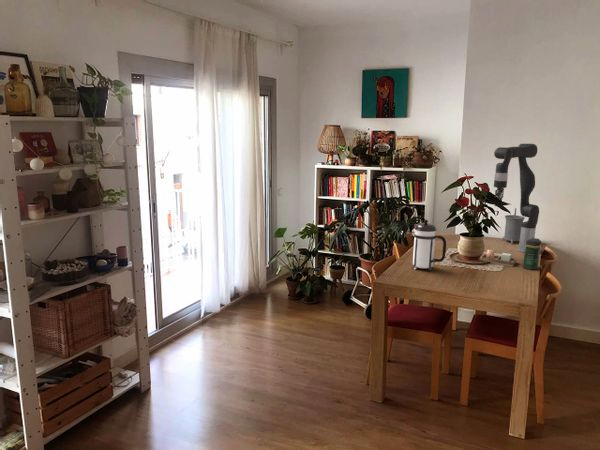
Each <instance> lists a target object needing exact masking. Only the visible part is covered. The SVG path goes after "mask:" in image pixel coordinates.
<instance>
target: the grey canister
mask: <svg viewBox="0 0 600 450" xmlns="http://www.w3.org/2000/svg"><path fill="white" fill-rule="evenodd" d="M516 214H517V207H514V214H513V215H512V214H507V215H504V218H505V227H504V235H503V237H502V238H501V241H504V240H506V241H510V244H511V245H513V244H514V242H519V241H520V232H521V224H522V222H524V220H525V219H526V217H524V216H522V215H516Z"/></svg>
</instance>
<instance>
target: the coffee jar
mask: <svg viewBox="0 0 600 450" xmlns="http://www.w3.org/2000/svg"><path fill="white" fill-rule="evenodd" d="M541 244H542V241H541V240H540V238H536V237H535V238H531V239H528V240H526V246H525V252H524V253H523V254H524V255H523V261H522V262H523V263H522V268H523V269H526V270H529V269H530V270H534V271H535V270H536V269H538V267H539V258H540V252H541Z"/></svg>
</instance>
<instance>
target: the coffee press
mask: <svg viewBox="0 0 600 450" xmlns="http://www.w3.org/2000/svg"><path fill="white" fill-rule="evenodd" d="M428 222H429V220H428V219H424V220H423V222H419V223H417V224H416V225H415V227H414V228H413V229H412V230H411V232H412V233H414V234H413V238H414V241H413V251H412V253H413V254H412V265H413V266H412V267H411V269H412V270H413V271H415V270H416V269H417V268H419V269H427V271H428V272H432V271H433V266H434V263H440V262H443V261H444V260H445V258H446V253H447V240H446V238H445V237H444V236H443V235H436V233H437V230H438V229H437V228H436V227H437V226H436V225H434V224H433V223H428ZM436 239H439V240H441V241H442V256H441V258H434V257H435V247H436V246H435V245H436Z"/></svg>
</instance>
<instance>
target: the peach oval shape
mask: <svg viewBox="0 0 600 450" xmlns="http://www.w3.org/2000/svg"><path fill="white" fill-rule="evenodd" d="M486 254H487V255H486V258H490V259H494V255H495V250H494V249H486Z"/></svg>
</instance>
